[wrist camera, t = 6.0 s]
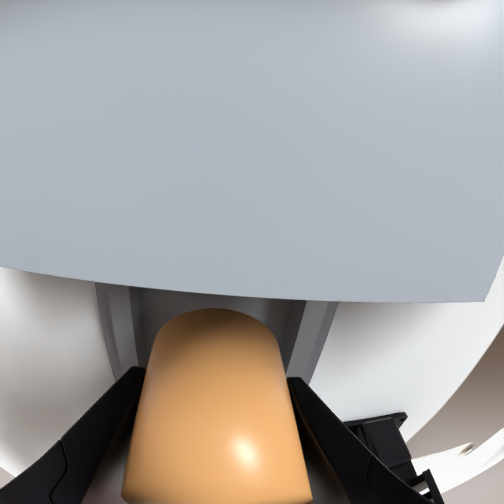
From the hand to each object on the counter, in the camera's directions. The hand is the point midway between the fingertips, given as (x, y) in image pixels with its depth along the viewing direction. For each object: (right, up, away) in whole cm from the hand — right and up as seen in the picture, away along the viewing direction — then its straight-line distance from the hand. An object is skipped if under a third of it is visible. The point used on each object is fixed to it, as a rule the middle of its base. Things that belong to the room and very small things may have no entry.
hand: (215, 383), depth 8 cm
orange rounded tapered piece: (0, 0, +1) cm, 1 cm away
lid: (+1, +12, -1) cm, 12 cm away
